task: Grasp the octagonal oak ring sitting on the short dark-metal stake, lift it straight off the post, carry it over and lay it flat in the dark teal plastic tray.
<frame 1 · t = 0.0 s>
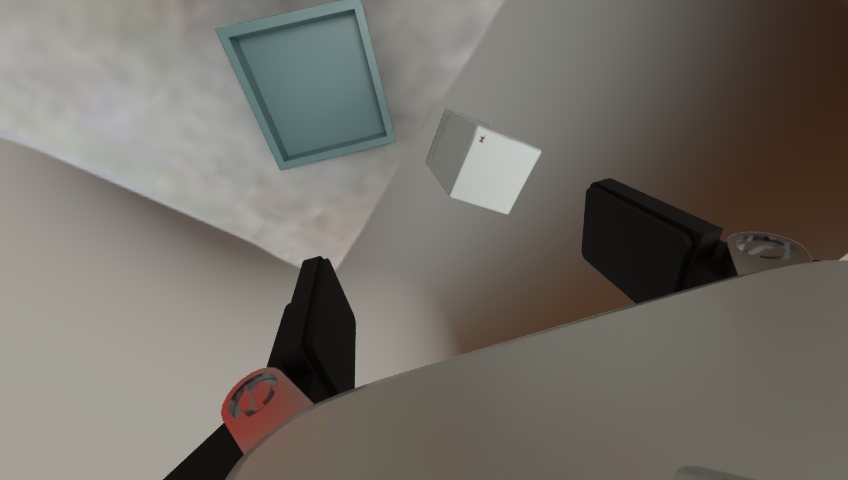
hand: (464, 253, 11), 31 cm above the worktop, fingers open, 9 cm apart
tray: (319, 89, 35), on the worktop
supplement box: (458, 144, 41), on the worktop
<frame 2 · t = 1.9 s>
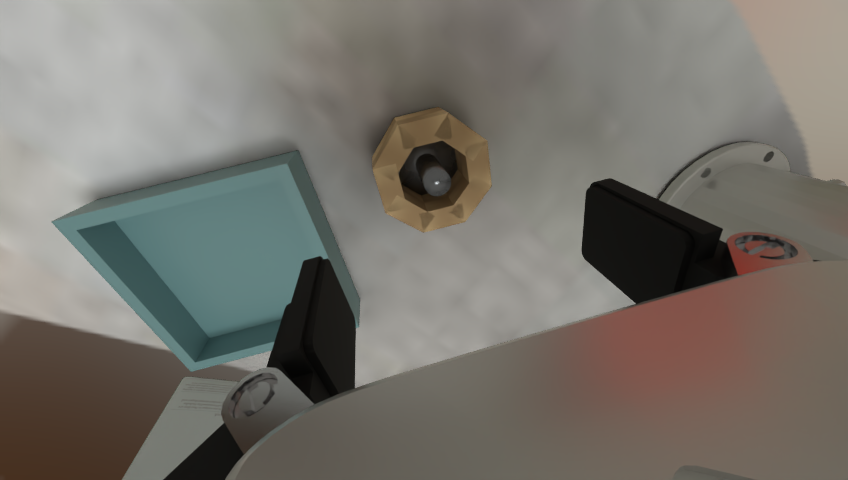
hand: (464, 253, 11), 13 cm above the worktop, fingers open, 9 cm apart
tray: (248, 257, 24), on the worktop
stake: (424, 161, 22), on the worktop
ring: (426, 164, 22), point 1 cm above the worktop, touching stake
supplement box: (224, 400, 31), on the worktop
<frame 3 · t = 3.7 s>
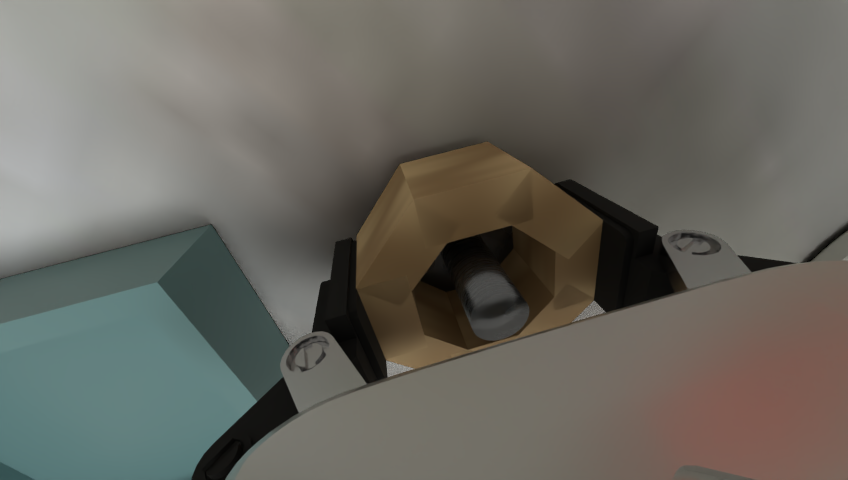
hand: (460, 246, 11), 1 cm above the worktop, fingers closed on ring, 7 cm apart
tray: (143, 395, 14), on the worktop
stake: (452, 231, 12), on the worktop
ring: (459, 243, 12), point 1 cm above the worktop, touching gripper, stake
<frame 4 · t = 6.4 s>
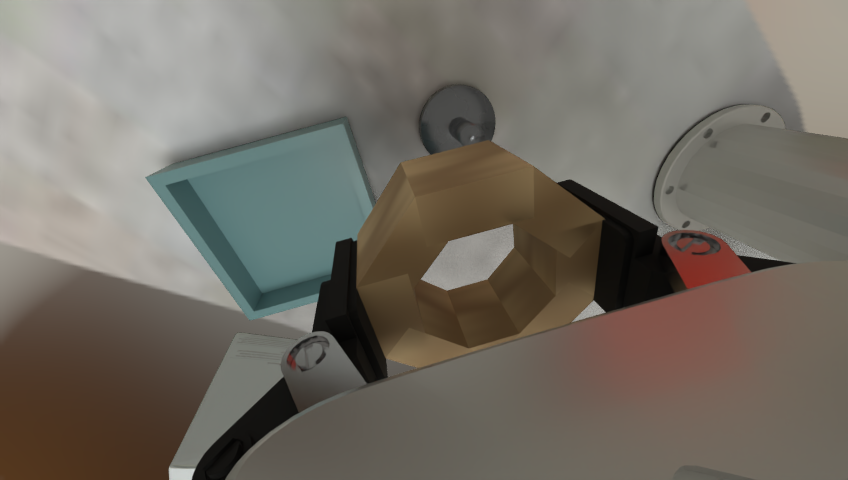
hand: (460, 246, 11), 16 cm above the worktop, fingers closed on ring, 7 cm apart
tray: (298, 217, 27), on the worktop
stake: (455, 125, 25), on the worktop
ring: (460, 242, 12), point 16 cm above the worktop, touching gripper
supplement box: (269, 357, 35), on the worktop
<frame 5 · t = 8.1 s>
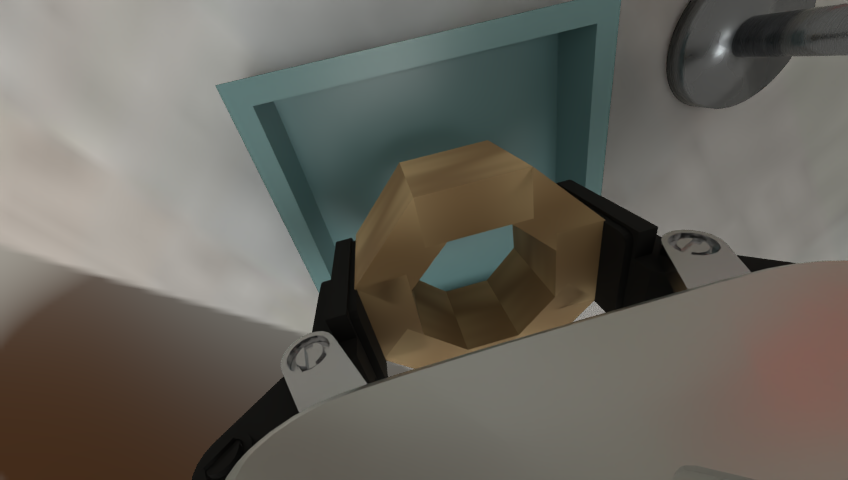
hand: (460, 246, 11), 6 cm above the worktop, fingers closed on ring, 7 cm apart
tray: (439, 192, 16), on the worktop
stake: (726, 38, 15), on the worktop
ring: (459, 243, 12), point 5 cm above the worktop, touching gripper
when the fingers open (3 cm above the worktop, at t = 9.3 s): ring drops 2 cm, resting on tray.
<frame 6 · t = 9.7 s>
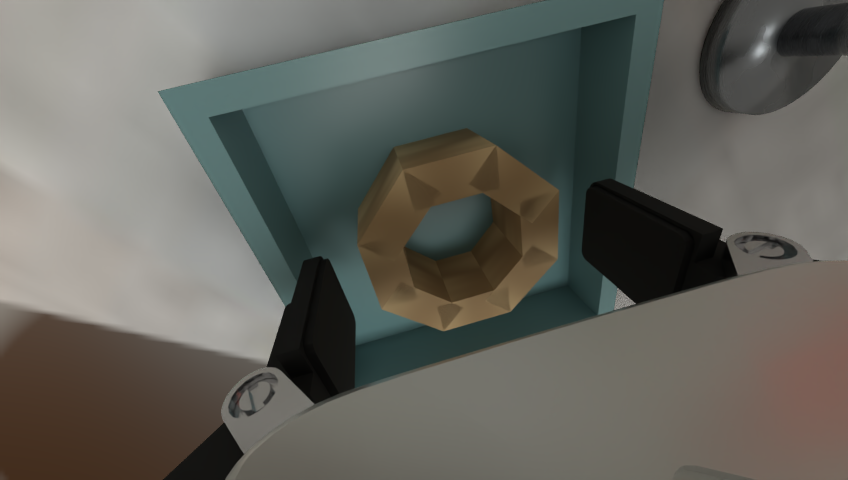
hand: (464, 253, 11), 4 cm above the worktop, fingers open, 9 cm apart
tray: (440, 210, 14), on the worktop
stake: (767, 35, 13), on the worktop
ring: (445, 217, 14), point 1 cm above the worktop, touching tray
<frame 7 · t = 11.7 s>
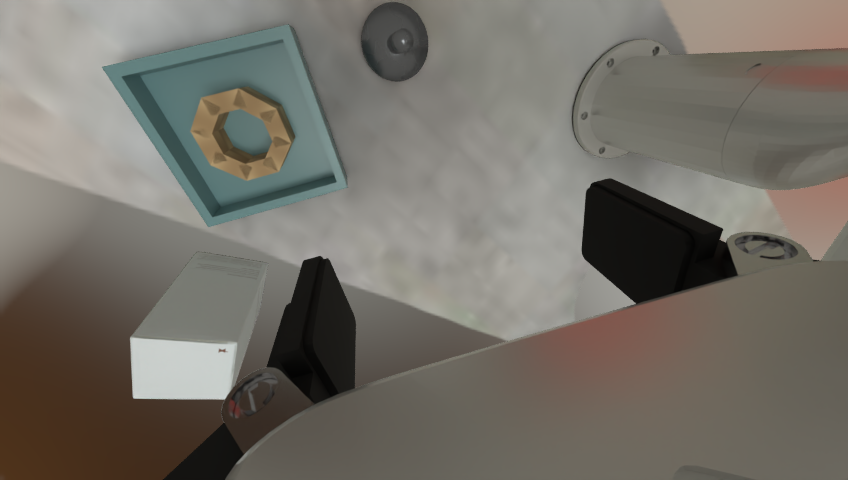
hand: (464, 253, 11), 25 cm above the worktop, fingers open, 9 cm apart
tray: (253, 130, 29), on the worktop
stake: (394, 44, 29), on the worktop
ring: (251, 131, 29), point 1 cm above the worktop, touching tray
supplement box: (231, 280, 36), on the worktop
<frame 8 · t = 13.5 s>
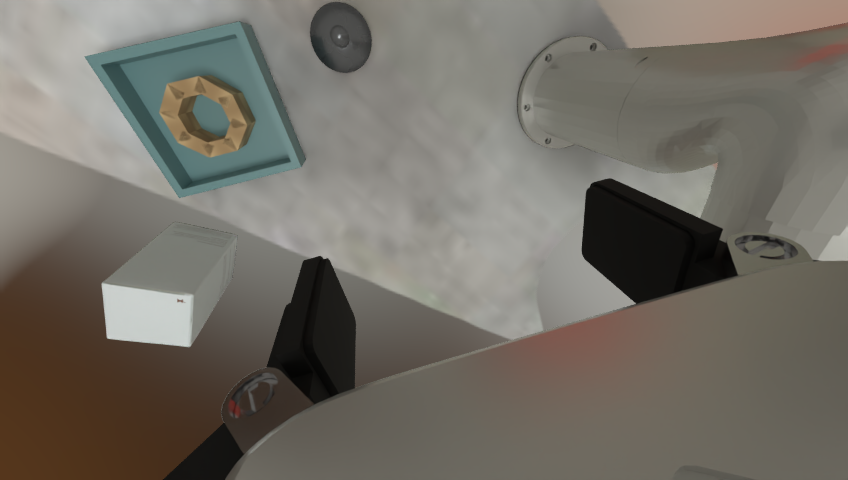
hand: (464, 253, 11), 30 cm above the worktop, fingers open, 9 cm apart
tray: (219, 114, 33), on the worktop
stake: (342, 39, 32), on the worktop
ring: (216, 115, 33), point 1 cm above the worktop, touching tray
supplement box: (206, 250, 41), on the worktop
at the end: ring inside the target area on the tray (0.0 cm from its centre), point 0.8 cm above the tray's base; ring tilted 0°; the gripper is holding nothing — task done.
